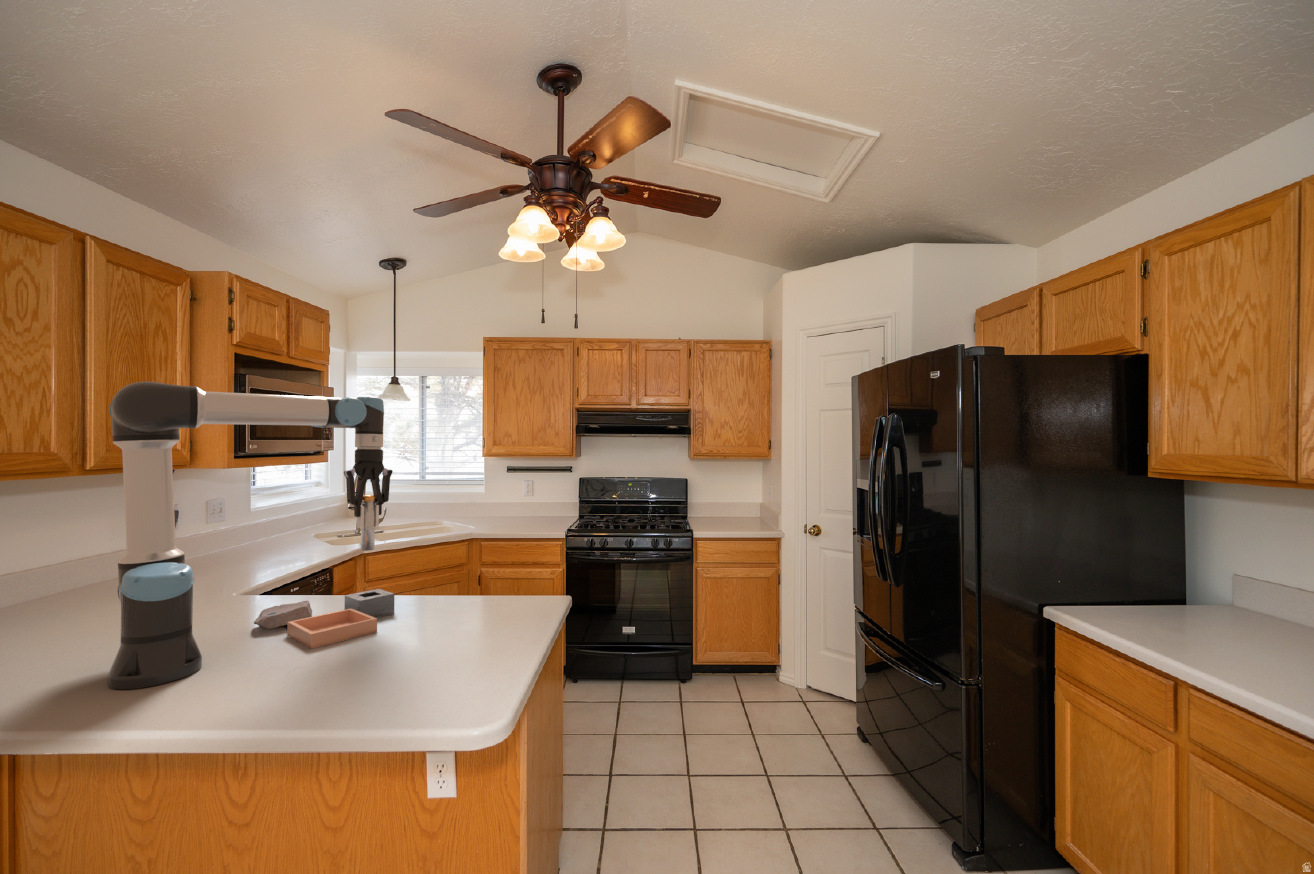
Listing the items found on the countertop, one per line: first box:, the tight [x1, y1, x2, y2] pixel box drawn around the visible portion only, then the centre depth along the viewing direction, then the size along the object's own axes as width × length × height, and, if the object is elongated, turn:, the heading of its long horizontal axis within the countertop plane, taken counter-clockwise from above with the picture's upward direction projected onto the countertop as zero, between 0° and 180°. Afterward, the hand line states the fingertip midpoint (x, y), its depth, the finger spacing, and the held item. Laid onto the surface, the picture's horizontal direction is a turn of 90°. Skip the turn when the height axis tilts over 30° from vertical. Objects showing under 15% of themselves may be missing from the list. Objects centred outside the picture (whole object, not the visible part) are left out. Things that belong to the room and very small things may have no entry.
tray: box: [286, 608, 378, 649], centre depth 146 cm, size 16×16×4 cm
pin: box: [360, 494, 376, 552], centre depth 163 cm, size 4×4×16 cm
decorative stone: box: [253, 600, 313, 630], centre depth 153 cm, size 13×10×6 cm
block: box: [343, 588, 395, 619], centre depth 164 cm, size 10×10×6 cm
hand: (367, 526), depth 163 cm, fingers closed on pin, 4 cm apart
